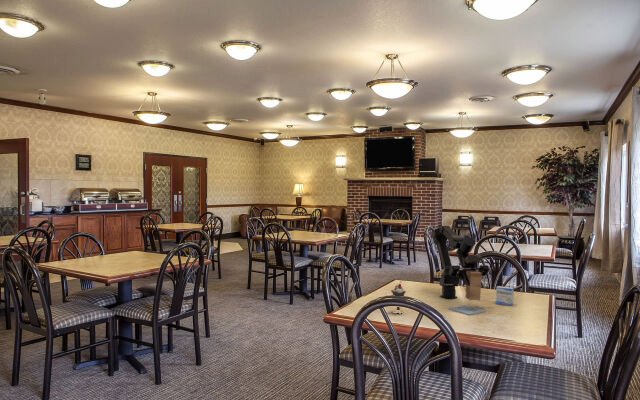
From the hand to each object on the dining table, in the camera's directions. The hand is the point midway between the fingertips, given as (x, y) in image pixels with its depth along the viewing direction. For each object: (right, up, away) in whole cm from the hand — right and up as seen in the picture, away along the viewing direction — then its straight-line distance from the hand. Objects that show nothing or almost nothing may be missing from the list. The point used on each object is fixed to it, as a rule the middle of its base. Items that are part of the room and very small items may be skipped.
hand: (474, 285), depth 217 cm
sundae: (-37, -12, -3) cm, 39 cm away
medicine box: (+20, -13, +16) cm, 29 cm away
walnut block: (0, -7, +2) cm, 7 cm away
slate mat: (-3, -12, +2) cm, 13 cm away
